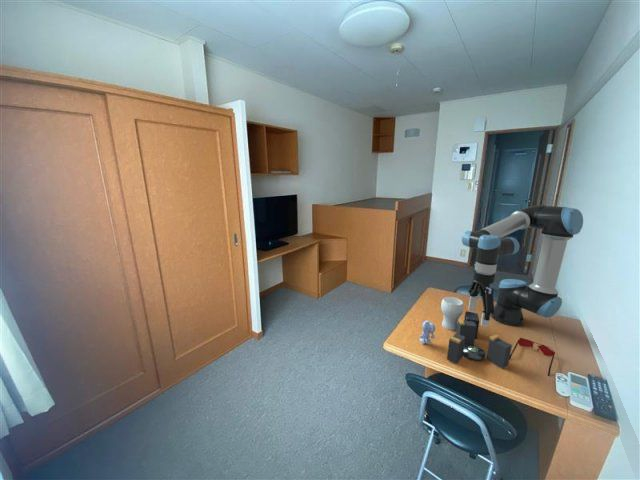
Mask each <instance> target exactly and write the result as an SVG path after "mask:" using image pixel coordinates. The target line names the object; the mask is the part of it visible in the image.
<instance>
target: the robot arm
mask: <svg viewBox="0 0 640 480" xmlns="http://www.w3.org/2000/svg"><path fill="white" fill-rule="evenodd" d="M583 226H584V217H583V213H582V212H581V211H580V209H577V208H573V207H567V206H552V205H542V204H540V205H532V206H527V207H524V208H521V209H519V210H516V211H514V212H512V213H511V214H510V216H506V218H503V219H501V220H499V221H497V222H494V223H492V224H490V225H488V226H486V227H484V228H482V229H479V230H476V231H474V230H473V231H472V230H466V231H464V233H463V235H462V237H461V243H462V245H463V246H465V247H467V248H470V249H474V250H475V249H476V251H477V252H476V259H475V263H474V271H473V279H472V282H471V284H470V287H469V288H468V294H469V303H468V311H476V308H477V301H478V296H480V297H481V301H482V306H483V307H482V308H483V310H482V311H481V313H482V314H481V321H480V327H483V328H485V327H486V328H487V327H490V326H489V324H490V318H492V319H493V320H495V321H496V322H498V323H500V324H503V325H507V326H510V327H511V326H512V327H519V326H522V325H523V324H524V321H525V320H524V319H525V318H524V315H523V310H526V311H528V312H531V313H533V314H536V315H537V316H540V317H544V318H551V317H553V316H554V315H556V314H557V313H558V311H559V310H560V309H561V307H562V305H563V299H562V298H561V296H559V291H558V289H556V287H557V282H558V278H559V275H560V271H561V268H562V267H561V266H562V263H563V260H564V255H565V251H566V248H567V243H568V241H569V240H571V239H573V237H574V235H577V234H580V232H581V230H582V229H583ZM528 228H531V229H538V230H541V232H540V235H541V236H542V237H543V240H542V244H541V247H540V248H541V250H540V252H539V257H538V261H537V266H536V270H535V274H534V278H533V282H532V283H531V284H528V283H527V282H526V281H524V280H521V279H516V278H515V279H514V278H506V279H502V280H500V281H499V285H498V290H497V291H498V292H497V299H496V303H495V302H494V288H490V285H491V284H493V283H495V279H496V271H497V266H498V259H499V258H501V257H506V256H507V257H508V256H512V255H515V254H516V253H518V252H519V250H520V243H519V241H518V240H517V239H516V238H514V237H511V236H510V237H508V235H510V234H512V233H514V232H517V231H518V230H525V229H528ZM505 236H506V237H505ZM494 303H495V304H494Z"/></svg>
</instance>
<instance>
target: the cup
mask: <svg viewBox="0 0 640 480" xmlns="http://www.w3.org/2000/svg"><path fill="white" fill-rule="evenodd" d="M440 310H441V312H442V315H443V319H442V323H441V326H442V327H443V328H444V329H445V330H450V331H457V325H458V319H460V317H461V316H462V314H463V313H464V302H463V300H461V299H460V298H457V297H453V296H446V297H444V298H443V297H442V300H441V305H440Z"/></svg>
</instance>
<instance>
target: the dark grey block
mask: <svg viewBox="0 0 640 480" xmlns="http://www.w3.org/2000/svg"><path fill="white" fill-rule="evenodd" d="M465 338H466V337H464V336H462V335H459V334H457V333H455V334H454V335H453V336H452V335H451V336H449V340H448V347H447V356H446V360H447V361H449V362H452V363H453V364H456V365H457V364H458V363H459V362H460V360H461V359H463V358H464V357H463V352H464V345H465Z"/></svg>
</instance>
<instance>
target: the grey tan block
mask: <svg viewBox="0 0 640 480" xmlns="http://www.w3.org/2000/svg"><path fill="white" fill-rule="evenodd" d="M457 323H458V325H457V330H456V333H457V334H459V335H462V336H464V337H466V338H465V344H466V343H469V344H474V345H475V341H476V339H475V335H476V328H477V326H476V324H475V323H474V322H471V321H464V320H463V319H462V318H458V322H457ZM456 333H455V334H456Z"/></svg>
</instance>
